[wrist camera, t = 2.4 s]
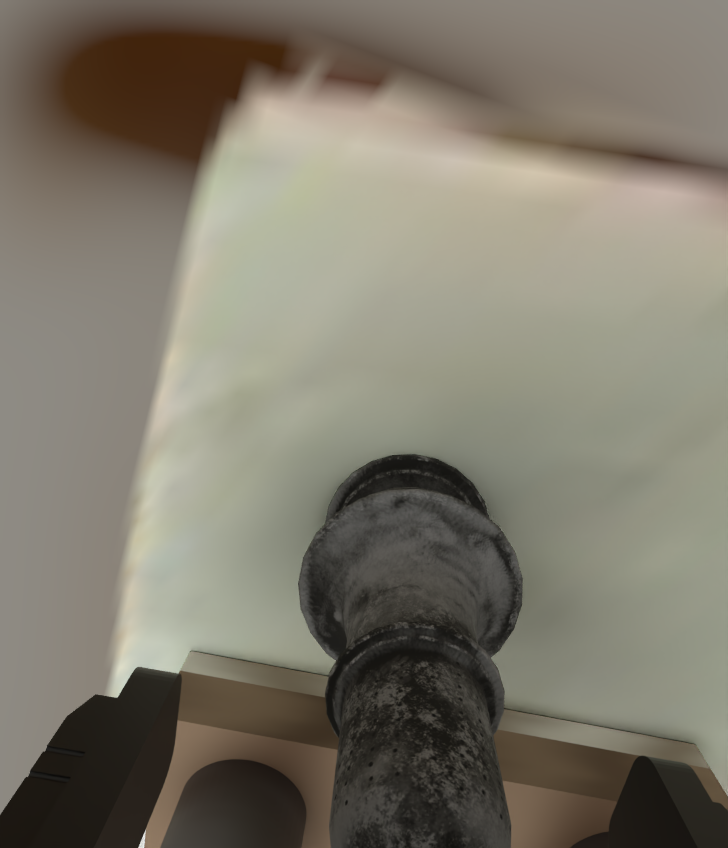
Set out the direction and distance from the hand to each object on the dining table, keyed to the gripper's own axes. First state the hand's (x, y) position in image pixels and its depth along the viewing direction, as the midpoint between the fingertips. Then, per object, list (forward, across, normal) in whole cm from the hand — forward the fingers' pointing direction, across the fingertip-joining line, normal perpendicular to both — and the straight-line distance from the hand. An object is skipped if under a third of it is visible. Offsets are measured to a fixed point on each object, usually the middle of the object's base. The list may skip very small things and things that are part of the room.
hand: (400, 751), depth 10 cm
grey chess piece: (+9, 0, 0) cm, 9 cm away
